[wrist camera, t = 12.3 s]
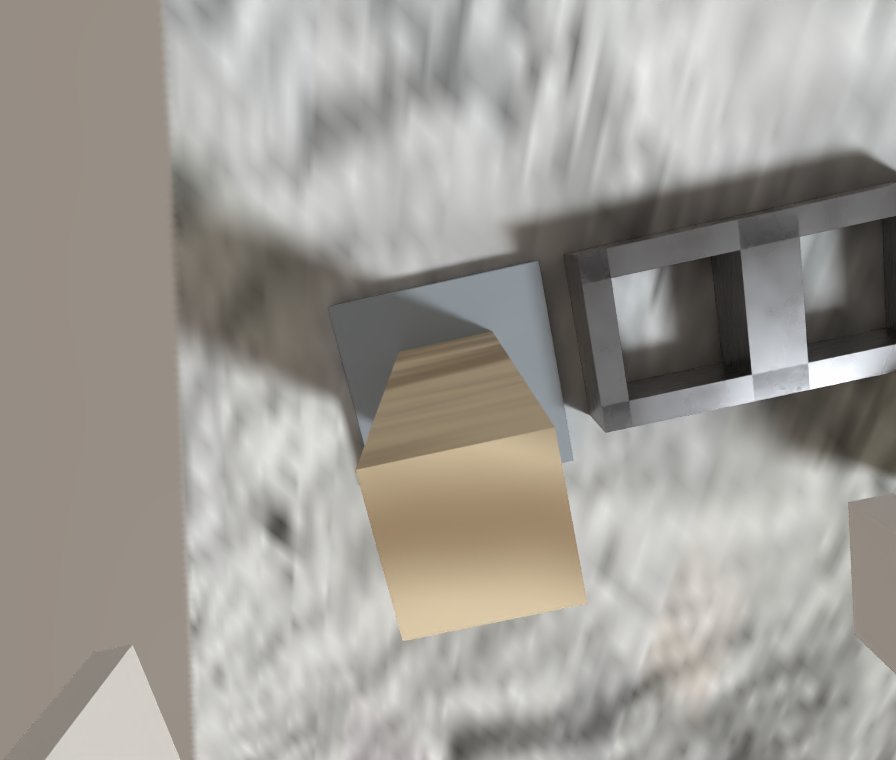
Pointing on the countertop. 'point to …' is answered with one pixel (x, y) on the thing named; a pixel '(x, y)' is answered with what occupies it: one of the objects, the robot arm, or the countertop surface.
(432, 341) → the slate mat
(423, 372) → the birch plug
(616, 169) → the countertop surface
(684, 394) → the dark grey open frame
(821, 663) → the countertop surface
